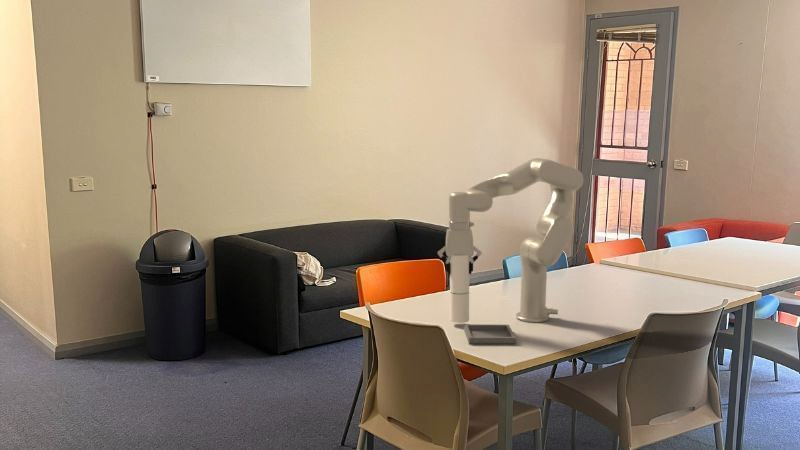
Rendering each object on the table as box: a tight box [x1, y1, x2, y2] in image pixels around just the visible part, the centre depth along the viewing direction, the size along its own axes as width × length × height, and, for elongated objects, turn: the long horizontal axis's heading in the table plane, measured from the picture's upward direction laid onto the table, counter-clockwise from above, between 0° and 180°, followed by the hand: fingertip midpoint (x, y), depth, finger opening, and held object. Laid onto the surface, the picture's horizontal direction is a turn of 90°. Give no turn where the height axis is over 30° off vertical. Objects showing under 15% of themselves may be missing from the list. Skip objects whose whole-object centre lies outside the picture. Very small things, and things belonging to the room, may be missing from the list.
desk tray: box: [464, 323, 517, 346], centre depth 263 cm, size 16×16×2 cm
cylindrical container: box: [449, 255, 470, 324], centre depth 276 cm, size 7×7×25 cm
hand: (459, 273), depth 276 cm, fingers closed on cylindrical container, 7 cm apart
